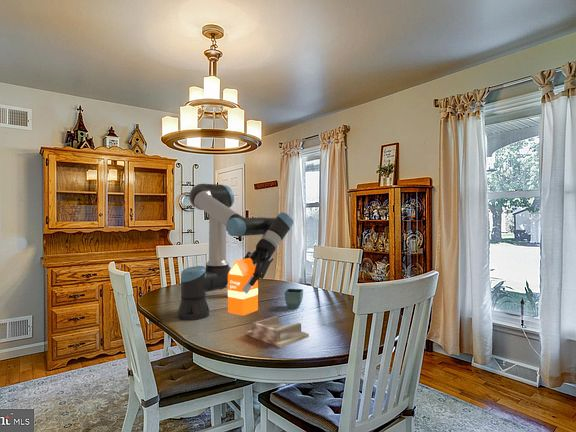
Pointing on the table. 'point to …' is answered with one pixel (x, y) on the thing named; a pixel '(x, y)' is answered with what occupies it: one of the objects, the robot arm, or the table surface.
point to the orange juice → (236, 282)
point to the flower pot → (293, 297)
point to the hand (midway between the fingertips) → (236, 289)
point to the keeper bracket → (276, 332)
